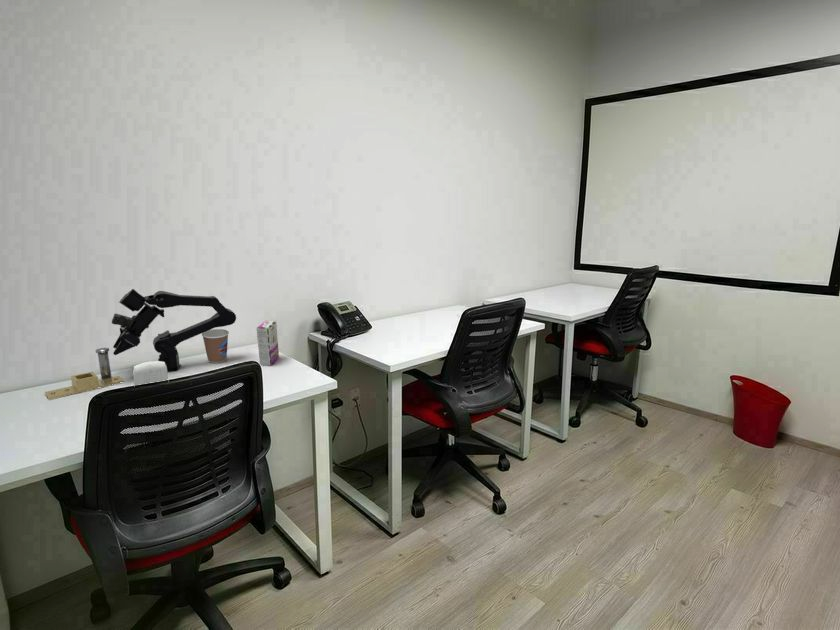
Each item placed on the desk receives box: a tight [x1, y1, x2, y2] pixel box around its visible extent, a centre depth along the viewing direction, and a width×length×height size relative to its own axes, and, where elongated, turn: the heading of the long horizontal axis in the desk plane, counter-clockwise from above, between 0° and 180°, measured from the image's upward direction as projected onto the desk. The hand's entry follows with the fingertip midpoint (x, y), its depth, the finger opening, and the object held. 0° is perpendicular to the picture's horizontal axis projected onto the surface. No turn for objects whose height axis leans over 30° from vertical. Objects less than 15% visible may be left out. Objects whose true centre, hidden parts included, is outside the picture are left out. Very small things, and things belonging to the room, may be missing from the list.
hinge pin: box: [95, 347, 112, 380], centre depth 181 cm, size 4×4×12 cm
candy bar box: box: [256, 320, 280, 367], centre depth 201 cm, size 11×5×16 cm, turn 179°
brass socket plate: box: [44, 371, 125, 401], centre depth 172 cm, size 23×7×4 cm, turn 136°
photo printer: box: [132, 360, 169, 385], centre depth 165 cm, size 10×4×12 cm, turn 123°
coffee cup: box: [201, 328, 230, 364], centre depth 201 cm, size 10×10×12 cm
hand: (114, 351), depth 181 cm, fingers open, 9 cm apart
